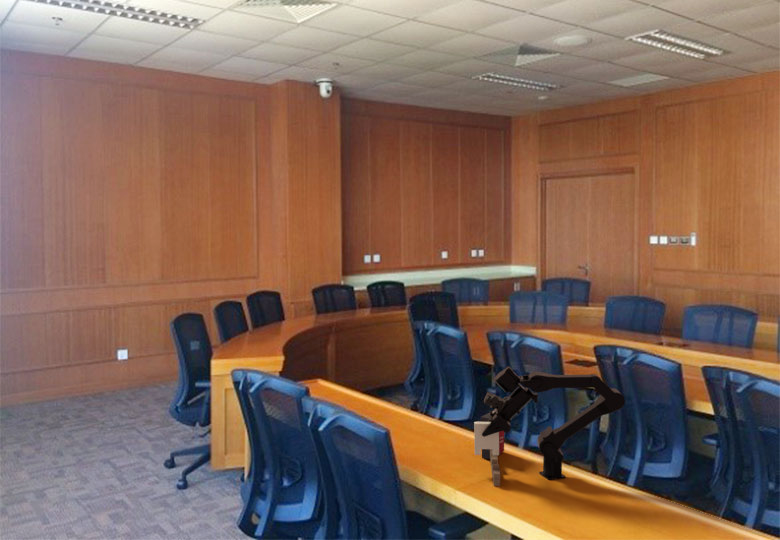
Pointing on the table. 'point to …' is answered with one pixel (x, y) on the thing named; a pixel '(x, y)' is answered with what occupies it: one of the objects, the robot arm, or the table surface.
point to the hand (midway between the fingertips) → (482, 434)
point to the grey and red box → (487, 452)
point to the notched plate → (485, 439)
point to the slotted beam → (495, 469)
